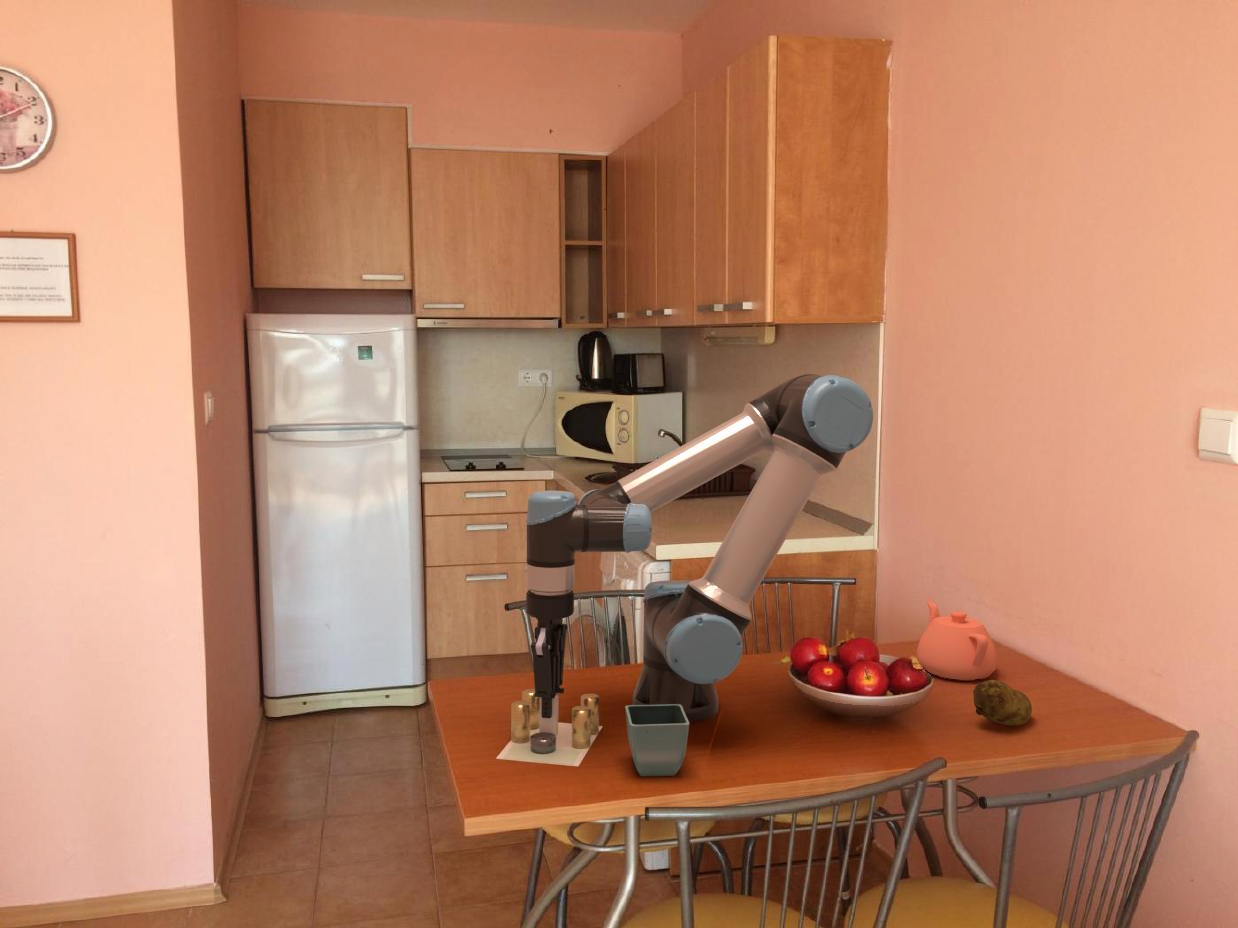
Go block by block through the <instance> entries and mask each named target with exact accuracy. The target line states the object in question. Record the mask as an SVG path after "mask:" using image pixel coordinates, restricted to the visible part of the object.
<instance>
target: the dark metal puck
mask: <svg viewBox="0 0 1238 928" xmlns="http://www.w3.org/2000/svg"><path fill="white" fill-rule="evenodd" d="M530 750H531V752H533V753H536V754H550V753H553V752H554V751H555V750H556V736H555V735H554V734H552V733H546V732H541V733H535V734H533V735H531V737H530Z"/></svg>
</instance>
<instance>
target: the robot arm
mask: <svg viewBox="0 0 1238 928" xmlns="http://www.w3.org/2000/svg"><path fill="white" fill-rule="evenodd" d="M873 422H874V409H873V407H872V402H871V399H870V397H869V395H868V393H867V392H866V390H865V389H863V387H862V386H860V385H859V384H858V383H856V382H855V381H853V380H851V379H848V378H845V377H842V376H840V375H833V374H827V375H820V374H809V373H808V374H807V373H806V374H799V375H796V376H794V377H791V378H790V379H787V380H785V381H784V382H782V383H780V384H778V385H777V386H775V387H773V388H772V389H770V390H768V391H767V392H765V393H763V394H762V395H760V396H758V397H757V398H755V399H753V400H751V401H749V402H748V403H746V404H744V408H743V411H742V412H741V413H739V414H737V415H736V416H733V418H730V419H729V420H727V421H725V422H722V423H721V424H719V425H717V426H716V427H714V428H712V429H710V430H708V431H707V432H705V433H703V434H701V435H700V436H697V437H695V438H694V439H692V440H690V441H688V442H686V443H685V444H682V445H681V446H679V447H677V448H675V449H673V450H671V451H670V452H668V453H666V454H665V455H662V456H660V457H659V458H657V459H655V460H653V461H652V462H650V463H648V464H646V465H644V466H642V467H640V468H639V469H637V470H635V471H633V472H632V473H631V472H630V473H629V474H628V475H626V476H624V477H621V478H620V479H618V480H617V481H615V482H613V483H611V484H609V485H607V486H605V487H603V488H601V489H592V490H589V491H587V492H585V493H584V494H583V495H582V496H581V497H580V498H579V500H578V502H577V501H576V500H577V499H576V495H575V494H574V493H573V492H571V491H566V490H550V489H549V490H540V491H535V492H533V493H532V494H530V495H529V498H528V500H527V510H526V511H527V512H526V513H527V514H526V523H525V524H526V566H525V567H524V568H523V573H525V574H526V588H527V589H528V590H527V591H526V599H525V600H526V604H525V613H526V614H527V615H528V616H529V617H532V618H535V619H536V620H537V625H536V627H535V628H534V639H535V642H534V641H532V642H531V644H530V650H531V654H532V655H531V656H532V661H533V662H532V664H533V677H534V681H533V682H534V689H535V693H534V697H540V709H539V733H541V732H546V733H552V734H554V735H555V736H557V735H558V722H559V697H560V696H559V694H561V695H562V694H564V693H565V688H562V687H561V686H562V685H563V684H564V683H563V682H564V680H563V679H564V676H563V675H564V665H565V651H566V638H567V631H568V627H569V626H568V624H567V623H563V622H564V621H563V620H564V619H566V618H569V617H571V616H572V615H573V614H574V613H575V593H574V591H573V590H572V589H574V588H575V581H576V580H575V576H576V575H575V574H576V573H575V569H576V568H575V567H576V564H575V557H576V553H607V552H608V553H612V552H613V553H618V552H619V553H622V552H623V553H627V554H628V553H631V552H641V551H646V550H647V549H648V548H649V547H650V545H651V542H652V536H653V535H652V534H653V522H652V520H653V519H652V516H651V515H652V514H651V513H652V512H654V511H656V510H658V509H660V508H662V507H663V506H665V505H667V504H669V503H671V502H673V501H674V500H677V499H678V498H680V497H682V496H684V495H686V494H687V493H690V492H691V491H692V490H695V489H697V488H699V487H700V486H702V485H704V484H706V483H707V482H709V481H712V480H713V479H714V478H716V477H719V476H721V475H722V474H725V473H726V472H728V471H729V470H731V469H733V468H735V467H737V466H739V465H741V464H742V463H744V462H746V461H748V460H750V459H751V458H753V457H755V456H757V455H759V454H761V453H762V452H767V453H770V454H771V456H770V458H769V460H768V462H767V463H766V465H764V466H765V467H764V469H763V470H762V472H761V474H760V475H759V477H758V479H757V481H756V483H755V484H754V486H753V488H752V490H751V491H750V493H749V495H747V498H746V500H745V502H744V504H743V505H742V507H741V509H740V511H739V513H737V515H736V518H735V519H734V521H733V523H732V524H731V527H730V528H729V530H728V532H727V533H726V536H725V537H724V539H723V540H722V542H721V544H720V546H719V548H718V549H717V551H716V553H715V555H714V557H713V558H712V560H711V562H710V563H709V565H708V567H707V569H706V571H705V572H704V574H703V576H702V577H700V578H698V579H694V580H687V579H684V580H683V579H673V580H658V581H652V582H649V583H648V584H647V585H646V586H645V587H644V594H643V599H642V602H643V634H642V635H643V637H642V639H643V640H642V641H643V642H642V643H643V645H642V646H643V647H642V648H643V649H642V653H643V654H642V655H643V656H642V669H641V671H640V674H639V676H638V680H637V682H636V684H635V689H634V691H633V694H632V705H666V704H680V705H682V707H683V710H684V712H685V715H686V717H687V719H688V721H689V723H696V722H697V723H698V722H701V721H705V720H708V719H710V718H713V717H714V716H715V715H716V714H718V711H719V696H718V693H717V689H716V686H715V683H717V682H720V681H722V680H724V679H725V678H727V677H729V675H731V674H732V673H733V672H734V671H735V670H736V668H737V666H738V665H739V664H740V661H741V659H742V655H743V652H744V651H743V649H744V648H743V647H744V646H743V645H744V644H743V638H742V637H743V635H744V633H745V631H746V630H747V628H748V626H749V625H750V623H751V621H752V619H753V618H752V614H751V609H750V602H751V601H752V599H753V598H754V596H755V594H756V593H757V592H758V591H757V590H758V589H759V587H760V585H761V583H762V581H763V580H764V578H765V576H766V574H767V573H768V571H769V570H770V567H771V566H772V565H773V562H774V561H775V559H776V558H777V555H778V554H779V551H780V550H781V548H782V547H783V545H784V542H785V541H786V540H787V538H788V536H789V534H790V532H791V531H792V528H793V527H794V525H795V523H796V522H797V519H799V516H800V514H801V513H802V511H803V509H804V508H805V506H806V505H807V502H808V500H809V499H810V497H811V496H812V494H813V492H814V490H815V488H816V486H817V485H818V483H819V481H820V479H821V478H822V477H823V476H824V475H826V474H829V473H833V472H836V470H837V469H838V467H839V465H840V464H841V462H842V460H843V459H844V457H845V455H846V453H848V452H850V451H853V450H855V449H856V448H858V447H859V446H860V445H861V444H863V443H864V442H865V440H867V438H868V436H869V434H870V432H871V430H872V427H873Z"/></svg>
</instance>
